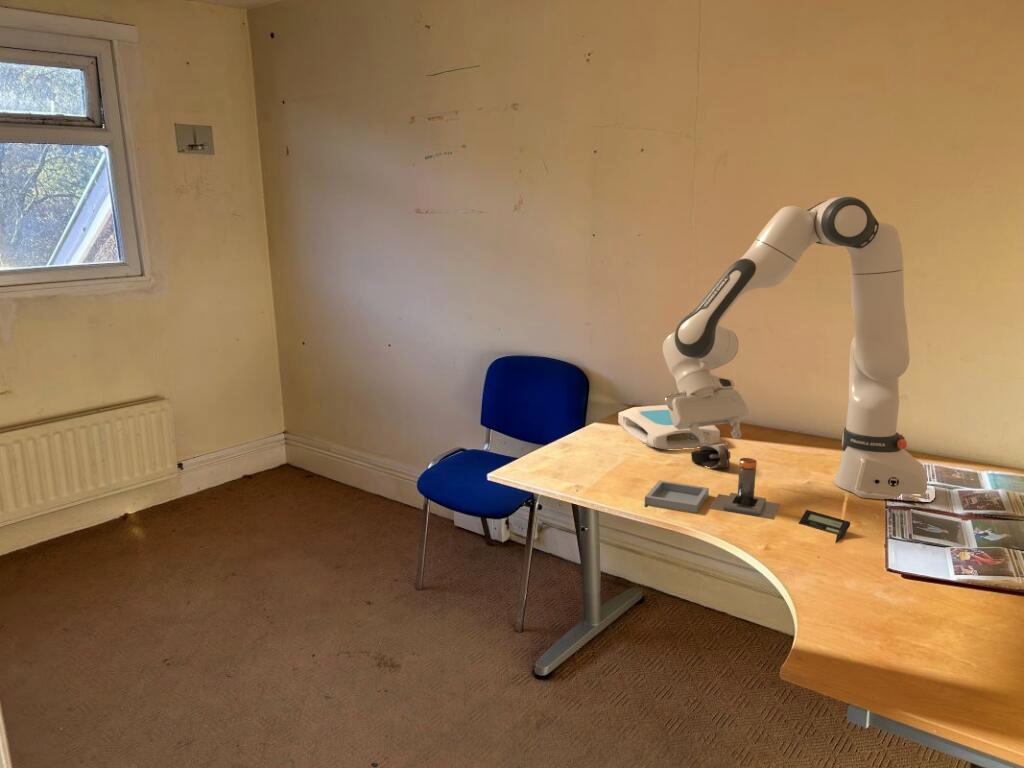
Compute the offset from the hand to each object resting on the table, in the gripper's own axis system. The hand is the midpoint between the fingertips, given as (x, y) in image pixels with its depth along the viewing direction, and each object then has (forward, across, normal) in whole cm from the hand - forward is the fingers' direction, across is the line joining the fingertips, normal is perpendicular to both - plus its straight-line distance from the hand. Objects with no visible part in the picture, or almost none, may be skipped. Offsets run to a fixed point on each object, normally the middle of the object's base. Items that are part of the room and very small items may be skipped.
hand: (721, 439), depth 175 cm
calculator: (+29, +4, -9) cm, 31 cm away
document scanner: (-23, +17, +43) cm, 52 cm away
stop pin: (+16, 0, +3) cm, 16 cm away
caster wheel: (-3, +12, +24) cm, 26 cm away
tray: (+10, -12, +10) cm, 18 cm away
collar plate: (+17, 0, +3) cm, 17 cm away
